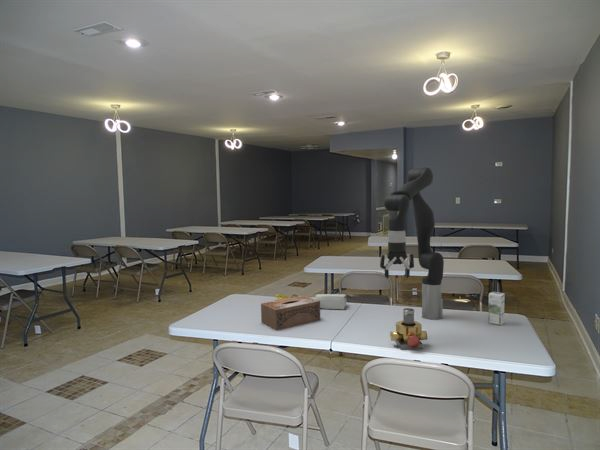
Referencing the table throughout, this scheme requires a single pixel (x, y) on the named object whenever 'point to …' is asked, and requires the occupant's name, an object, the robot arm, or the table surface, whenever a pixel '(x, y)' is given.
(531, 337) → the table surface
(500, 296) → the syrup box
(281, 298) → the sprinkler
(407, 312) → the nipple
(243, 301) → the table surface
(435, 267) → the robot arm
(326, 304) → the white flat block
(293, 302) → the tissue box cover
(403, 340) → the valve
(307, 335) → the table surface
